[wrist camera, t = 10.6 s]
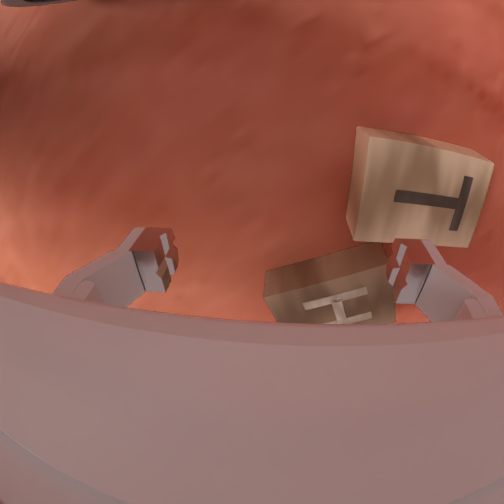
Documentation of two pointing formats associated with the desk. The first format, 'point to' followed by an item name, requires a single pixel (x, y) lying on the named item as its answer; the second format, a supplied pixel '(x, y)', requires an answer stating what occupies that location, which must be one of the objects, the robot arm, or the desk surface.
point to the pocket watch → (31, 2)
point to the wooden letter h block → (333, 289)
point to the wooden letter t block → (415, 189)
